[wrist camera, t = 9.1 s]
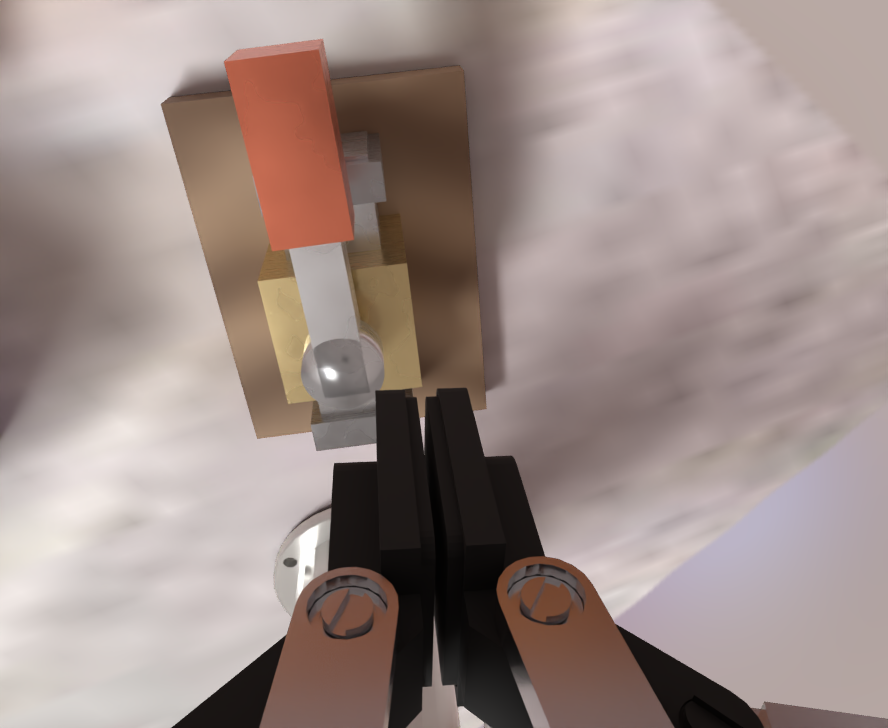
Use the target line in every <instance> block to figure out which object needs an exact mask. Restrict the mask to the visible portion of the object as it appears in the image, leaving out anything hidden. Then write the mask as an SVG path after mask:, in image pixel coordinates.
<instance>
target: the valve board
mask: <svg viewBox="0 0 888 728" xmlns="http://www.w3.org/2000/svg"><path fill="white" fill-rule="evenodd" d="M330 81H331V86H332V92H333V97H334V103H335V108H336V114H337V119H338V125H339V130H340V134H343V133H352V132H361V131H367V134H375V133H379V139H380V147H381V154H382V162H383V170H384V180H385V191H386V201H385V202H377V206H378V213H379V216H383V215H391V214H400V217H401V224H402V232H403V239H404V246H405V253H406V260H407V268H408V276H409V284H410V292H411V300H412V308H413V316H414V325H415V333H416V341H417V349H418V357H419V365H420V373H421V381H422V387H417V388H413V397H417V403H418V410H419V418H421V417H425V399H426V397H429V396H436V391H437V388H467V390H468V393H469V397H470V401H471V405H472V409H473V411H474V410H482V409H486V395H485V380H484V365H483V350H482V335H481V320H480V305H479V291H478V276H477V261H476V246H475V231H474V216H473V201H472V186H471V171H470V156H469V141H468V126H467V111H466V96H465V81H464V70H463V69H462V68H461V66H460V65H459V66H450V67H441V68H432V69H422V70H413V71H404V72H395V73H386V74H377V75H368V76H359V77H350V78H341V79H332V80H330ZM161 106H162V110H163V113H164V117H165V120H166V124H167V127H168V131H169V134H170V138H171V141H172V145H173V148H174V151H175V155H176V158H177V162H178V165H179V169H180V172H181V176H182V179H183V183H184V186H185V190H186V193H187V197H188V200H189V204H190V207H191V210H192V214H193V217H194V221H195V224H196V228H197V231H198V235H199V238H200V242H201V245H202V249H203V252H204V256H205V259H206V262H207V266H208V269H209V273H210V276H211V280H212V283H213V287H214V290H215V294H216V297H217V301H218V304H219V308H220V311H221V314H222V318H223V321H224V325H225V328H226V332H227V335H228V339H229V342H230V346H231V349H232V353H233V356H234V360H235V363H236V367H237V370H238V373H239V377H240V380H241V384H242V387H243V391H244V394H245V398H246V401H247V405H248V408H249V412H250V415H251V419H252V422H253V425H254V429H255V432H256V436H257V439H259V438H267V437H275V436H282V435H290V434H298V433H305V432H312V429H311V416H312V407H313V401H308V402H300V403H292V404H288V401H287V397H286V393H285V389H284V385H283V381H282V377H281V373H280V369H279V365H278V361H277V357H276V353H275V349H274V345H273V341H272V337H271V333H270V329H269V325H268V321H267V317H266V313H265V309H264V305H263V301H262V297H261V293H260V289H259V285H258V278H259V275H260V271H261V268H262V265H263V262H264V258H265V255H266V252H267V249H268V245H269V242H270V241H269V237H268V233H267V229H266V225H265V221H264V217H263V216H262V215H261V211H260V207H259V203H258V198H257V194H256V190H255V186H254V181H253V177H252V176H253V174H252V170H251V166H250V162H249V158H248V154H247V150H246V147H245V143H244V139H243V135H242V131H241V127H240V123H239V119H238V115H237V111H236V107H235V103H234V99H233V95H232V91H222V92H213V93H204V94H195V95H186V96H177V97H169V98H168V99H167V100H165V101H164V102H163V103H162V104H161Z"/></svg>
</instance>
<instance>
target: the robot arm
mask: <svg viewBox="0 0 888 728" xmlns="http://www.w3.org/2000/svg"><path fill="white" fill-rule="evenodd" d="M375 404H376V442H377V461H376V462H352V463H334V470H333V487H332V504H331V508H329V509H327V510H325V511H322V512H320V513H317V514H315V515H314V516H312V517H310V518H309V519H307V520H306V521H304V522H302V523H301V524H300V525H299V526H298V527H297V528H296V529H294V530H293V531H292V532H291V533H290V534H289V536H288V537H287V538H286V540H285V541H284V543H283V544H282V545H281V547H280V550H279V553H278V555H277V558H276V563H275V569H274V589H275V592H276V595H277V598H278V600H279V602H280V604H281V605H282V607H283V608H284V610H285V611H286V612H287V613H288V614H289V615H290V616H291V617H292V618H291V621H290V625H289V628H288V632H287V635H286V636H284V637H283V638H282V639H281V640H279V641H278V642H277V643H276V644H274V645H273V646H272V647H271V648H269V649H268V650H267V651H266V652H265V653H263V654H262V655H261V656H260V657H258V658H257V659H256V660H255V661H253V662H252V663H251V664H250V665H248V666H247V667H246V668H245V669H243V670H242V671H241V672H240V673H239V674H237V675H236V676H235V677H234V678H232V679H231V680H230V681H229V682H227V683H226V684H225V685H224V686H222V687H221V688H220V689H219V690H218V691H216V692H215V693H214V694H213V695H211V696H210V697H209V698H208V699H206V700H205V701H204V702H203V703H201V704H200V705H199V706H198V707H197V708H195V709H194V710H193V711H192V712H190V713H189V714H188V715H187V716H185V717H184V718H183V719H182V720H180V721H179V722H178V723H177V724H175V725H174V726H173V727H172V728H460V721H459V713H458V707H459V706H464V707H465V708H466V709H467V710H469V711H470V712H471V713H473V714H474V715H475V716H477V717H478V718H479V719H481V720H482V721H483V722H484V728H888V719H885V718H878V717H871V716H864V715H856V714H849V713H842V712H834V711H828V710H821V709H813V708H806V707H799V706H792V705H784V704H778V703H770V702H764V703H763V705H762V708H761V709H756V708H750V707H749V706H748V704H747V703H745V702H744V701H743V700H742V699H740V698H739V697H738V696H736V695H735V694H733V693H732V692H731V691H729V690H727V689H726V688H724V687H722V686H721V685H719V684H717V683H715V682H714V681H712V680H710V679H709V678H707V677H705V676H704V675H702V674H700V673H698V672H697V671H695V670H693V669H692V668H690V667H688V666H686V665H685V664H683V663H681V662H680V661H678V660H676V659H675V658H673V657H671V656H669V655H668V654H666V653H664V652H662V651H661V650H659V649H657V648H656V647H654V646H652V645H650V644H649V643H647V642H645V641H644V640H642V639H640V638H639V637H637V636H635V635H634V634H632V633H630V632H628V631H627V630H625V629H623V628H622V627H619V626H618V625H616V624H615V623H614V621H613V619H612V617H611V616H610V614H609V612H608V610H607V609H606V607H605V605H604V603H603V602H602V600H601V598H600V596H599V595H598V593H597V591H596V589H595V588H594V586H593V584H592V583H591V582H590V580H589V579H588V578H587V577H586V575H585V574H584V573H583V572H581V571H580V570H579V569H577V568H576V567H574V566H573V565H571V564H569V563H567V562H564V561H562V560H560V559H556V558H550V557H545V554H544V551H543V548H542V545H541V541H540V538H539V535H538V532H537V529H536V525H535V522H534V519H533V516H532V513H531V509H530V506H529V503H528V500H527V496H526V493H525V490H524V487H523V484H522V480H521V477H520V474H519V471H518V467H517V464H516V462H515V459H514V457H512V456H496V457H484V453H483V449H482V445H481V441H480V437H479V433H478V429H477V425H476V421H475V417H474V413H473V409H472V405H471V401H470V397H469V393H468V390H467V388H437V391H436V396H429V397H426V399H425V447H424V450H423V442H422V434H421V426H420V418H419V410H418V403H417V397H406V396H405V390H404V389H403V390H375Z"/></svg>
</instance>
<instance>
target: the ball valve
mask: <svg viewBox="0 0 888 728" xmlns="http://www.w3.org/2000/svg"><path fill="white" fill-rule="evenodd" d="M340 136H341V141H342V147H343V152H344V158H345V163H346V169H347V174H348V180H349V185H350V191H351V197H352V202H353V208H354V213H355V224H354V240H351V241H345V243H346V248H347V253H348V258H349V263H350V269H351V274H352V279H353V284H354V289H355V295H356V300H357V305H358V310H359V315H360V320H362V321H364V322H366V323H367V324H369V325H370V326H371V327H372V328H373V329H375V331H376V332H377V333H378V335H379V336H380V339H381V341H382V345H383V355H384V381H383V384H382V387H381V389H380V390H403V389H404V390H405V396H406V397H413V388H417V387H422V381H421V373H420V365H419V357H418V349H417V341H416V333H415V325H414V316H413V308H412V300H411V292H410V284H409V276H408V268H407V260H406V253H405V246H404V239H403V232H402V224H401V217H400V214H391V215H383V216H379V213H378V206H377V202H385V201H386V191H385V180H384V170H383V162H382V154H381V147H380V139H379V133H375V134H367V131H361V132H352V133H343V134H340ZM252 177H253V176H252ZM253 181H254V178H253ZM254 186H255V182H254ZM255 190H256V186H255ZM256 194H257V190H256ZM257 198H258V194H257ZM258 203H259V207H260V211H261V215H262V216H263V213H262V210H261V206H260V202H259V198H258ZM258 285H259V289H260V293H261V297H262V301H263V305H264V309H265V313H266V317H267V321H268V325H269V329H270V333H271V337H272V341H273V345H274V349H275V353H276V357H277V361H278V365H279V369H280V373H281V377H282V381H283V385H284V389H285V393H286V397H287V401H288V404H292V403H300V402H308V401H313V407H312V416H311V429H312V433H313V437H314V442H315V446H316V450H317V451H321V450H329V449H336V448H344V447H351V446H359V445H367V444H374V443H377V442H376V404H375V397H374V398H372V399H371V400H370V401H368V402H367V403H365V404H363V405H361V406H357V407H354V408H347V409H339V408H333V407H329V406H326V405H323V404H321V403H319V402H318V401H316V400H315V399H314V398H312V397H311V396H310V395H309V394H308V392H307V391H306V389H305V388H304V386H303V383H302V379H301V367H302V360H303V353H304V346H305V341H306V338H307V336H308V334H309V331H308V327H307V323H306V319H305V314H304V310H303V306H302V302H301V298H300V293H299V289H298V285H297V281H296V277H295V273H294V268H293V264H292V260H291V256H290V252H289V249H286V250H278V251H272V249H271V245H270V242H269V245H268V249H267V252H266V255H265V258H264V262H263V265H262V268H261V271H260V275H259V278H258Z"/></svg>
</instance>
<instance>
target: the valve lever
mask: <svg viewBox="0 0 888 728" xmlns="http://www.w3.org/2000/svg"><path fill="white" fill-rule="evenodd" d="M224 64H225V68H226V72H227V76H228V80H229V83H230V87H231V91H232V95H233V99H234V103H235V107H236V111H237V115H238V119H239V123H240V127H241V131H242V135H243V139H244V143H245V147H246V150H247V154H248V158H249V162H250V166H251V170H252V174H253V178H254V182H255V186H256V190H257V194H258V198H259V202H260V206H261V210H262V213H263V217H264V221H265V225H266V229H267V233H268V237H269V241H270V245H271V249H272V251H278V250H286V249H289V252H290V256H291V260H292V264H293V268H294V273H295V277H296V281H297V285H298V289H299V293H300V298H301V302H302V306H303V310H304V314H305V319H306V323H307V327H308V331H309V334H308V336H307V338H306V341H305V346H304V353H303V360H302V367H301V379H302V383H303V386H304V388H305V389H306V391H307V392H308V394H309V395H310V396H311V397H312V398H314V399H315V400H316V401H318V402H319V403H321V404H323V405H326V406H329V407H333V408H339V409H347V408H354V407H357V406H361V405H363V404H365V403H367V402H368V401H370V400H371V399H372V398H374V397H375V390H380V389H381V387H382V384H383V381H384V355H383V345H382V341H381V339H380V336H379V335H378V333H377V332H376V331H375V329H373V328H372V327H371V326H370V325H369V324H367V323H366V322H364V321H362V320H360V315H359V310H358V305H357V300H356V295H355V289H354V284H353V279H352V274H351V269H350V263H349V258H348V253H347V248H346V243H345V241H351V240H354V224H355V213H354V208H353V202H352V197H351V191H350V185H349V180H348V174H347V169H346V163H345V158H344V152H343V147H342V141H341V136H340V130H339V125H338V119H337V114H336V108H335V103H334V97H333V92H332V86H331V81H330V75H329V69H328V64H327V58H326V53H325V47H324V42H323V39H318V40H310V41H302V42H295V43H287V44H279V45H272V46H264V47H256V48H248V49H241V50H237V51H236V52H234V53H233V54H232V55H231V56H230V57H229V58H228V59H226V60H225V61H224Z"/></svg>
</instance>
